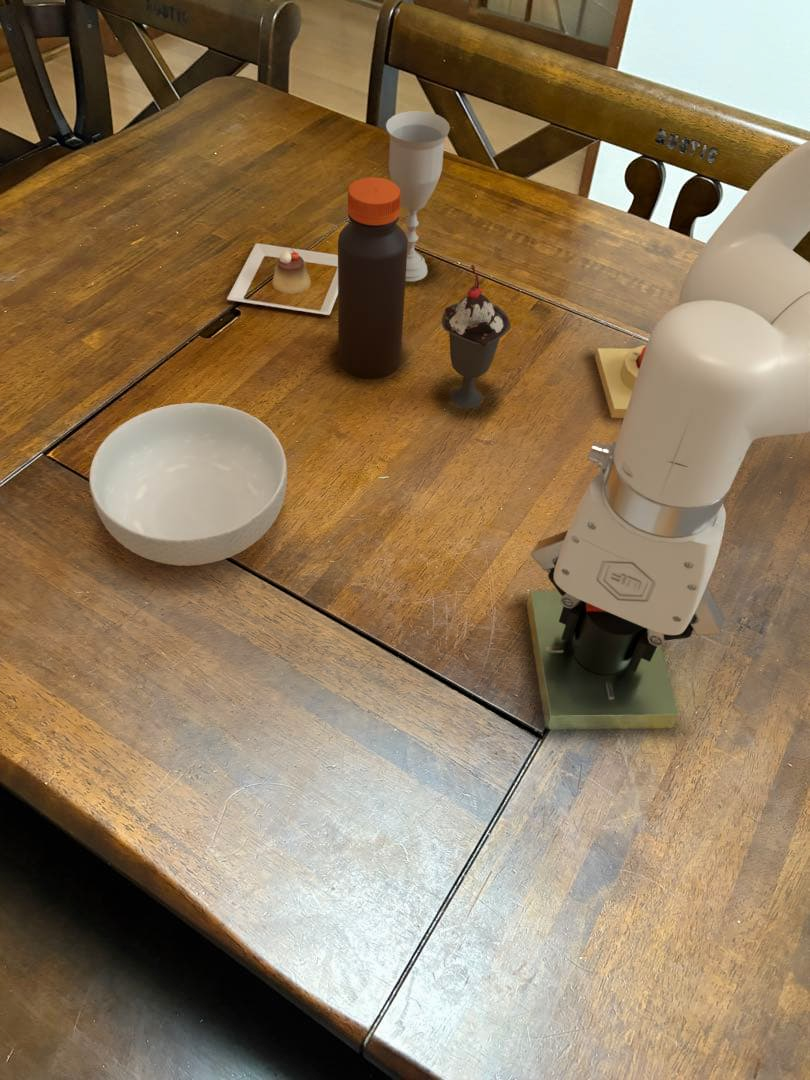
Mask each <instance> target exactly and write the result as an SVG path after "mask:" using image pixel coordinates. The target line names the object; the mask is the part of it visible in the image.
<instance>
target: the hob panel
mask: <svg viewBox="0 0 810 1080" xmlns="http://www.w3.org/2000/svg"><path fill="white" fill-rule="evenodd" d="M561 598H562V595H561V594H560V593H559V591H558V590H529V594H528V598H527V601H526V612H527V615H528V616H527V617H528V624H529V630H530V631H529V632H530V636H531V643H532V650H533V655H534V662H535V668H536V669H535V670H536V675H537V681H538V688H539V694H540V695H539V696H540V700H541V707H542V713H543V714H542V715H543V720H544V726H545V730H614V729H615V730H621V729H623V730H625V729H626V730H628V729H630V730H631V729H632V730H633V729H673V726H674V724H675V723H676V721H677V719H678V718H679V710H678V706H677V703H676V699H675V694H674V691H673V688H672V684H671V680H670V676H669V673H668V669H667V665H666V662H665V658H664V654H663V649H662V646H657V648H656V650H655V652H654V654H653V657H652V659H651V661H650V662H649V661H647V660H644V659H642V658H641V661H640V663H639V665H638V667H637V669H636V672H633V671H631V670H629V669H630V668H629V667H628V665H627V666H626V667H625V668H624V669H623V670H622V671H620V672H618V673H615V674H608V675H604V674H598V673H594V672H592V671H590V670H588V669H586V668H585V667H583V666H582V665H581V664H580V663H579V662H578V661H577V659H576V658H575V656H574V654H573V651H572V639H573V637H572V639H571V641H567V642H566V641H564V640H561V638H562V635H563V632H564V629H565V626H566V625H565V624H562V623H560V622H559V619H560V616H561V613H562V609H563V605H562V604H561V602H560V600H561ZM573 636H574V635H573Z"/></svg>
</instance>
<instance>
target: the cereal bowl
mask: <svg viewBox="0 0 810 1080" xmlns="http://www.w3.org/2000/svg"><path fill="white" fill-rule="evenodd" d="M88 481H89V489H90V494H91V498H92V502H93V504H94V508H95V510H96V513H97V515H98V517H99V518H100V521H101V523H102V524H103V525H104V527H105V529H106V531H108V532H109V534H110V535H111V536H112V537H113V538H114V539H115V540H116V541H117V542H118V543H119V544H121V545H122V546H123V547H124V548H125V549H127V550H129V551H130V552H131V553H133V554H136V555H137V556H139V557H141V558H145V559H146V560H150V561H153V562H155V563H161V564H164V565H165V564H167V565H173V566H179V567H180V566H181V567H182V566H186V567H188V566H190V567H191V566H200V565H205V564H212V563H215V562H220V561H223V560H225V559H229V558H231V557H234V556H235V555H238V554H240V553H242V552H243V551H246V550H247V549H248V548H250V547H251V546H253V545H254V544H255V543H256V542H258V541H259V540H261V538H262V537H263V536H264V535H266V533H267V532H268V531H269V530H270V528H272V526H273V525H274V522H276V520H277V519H278V516H279V515H280V513H281V510H282V508H283V506H284V501H285V499H286V498H285V497H286V493H287V485H288V466H287V458H286V455H285V451H284V449H283V446H282V444H281V442H280V440H279V438H278V437H277V435H275V433H274V431H272V430H271V428H270V427H268V426H267V425H266V424H265V423H264V422H262V421H261V420H260V419H258V418H257V417H255V416H254V415H251V414H250V413H248V412H245V411H243V410H242V409H241V410H240V409H237V408H235V407H230V406H227V405H223V404H218V403H217V404H216V403H207V402H185V403H175V404H170V405H164V406H160V407H157V408H153V409H150V410H146V411H145V412H142V413H140V414H138V415H135V416H134V417H131V418H130V419H128V420H126V421H125V422H123V423H122V424H121V425H119V426H117V427H116V428H115V429H114V430H113V431H112V432H110V433H109V434H108V435H107V437H106V438H105V439H104V440H102V442H101V443H100V445H99V446H98V448H97V450H96V452H95V454H94V456H93V458H92V461H91V465H90V469H89V479H88Z"/></svg>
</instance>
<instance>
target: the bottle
mask: <svg viewBox="0 0 810 1080" xmlns="http://www.w3.org/2000/svg"><path fill="white" fill-rule="evenodd" d="M400 199H401V191H400V188H399V187H398V186H397V185H396V184H395V183H394V182H392V180H389V179H387V178H383V177H375V176H372V177H371V176H370V177H363V178H360V179H356V180H354V181H353V182H351V184H349V186H348V187H347V213H348V214H347V217H348V219H349V221H350V222H349V223H347V224H346V225H345V226H344V227H343V228H342V230H340V232H339V234H338V239H337V255H338V267H337V268H338V295H337V316H338V317H337V319H338V321H337V325H338V326H337V328H338V329H337V331H338V333H337V335H338V336H337V337H338V338H337V339H338V342H337V344H338V345H337V346H338V348H337V349H338V350H337V351H338V352H337V353H338V362H339V365H340V367H341V368H342V369H343V370H344V371H345V373H347V374H350V375H351V376H352V377H355V378H359V379H364V380H376V379H377V380H378V379H383V378H385V377H388V376H391V375H392V374H393V373H395V372H397V370H398V369H399V367H400V365H401V360H402V343H403V329H404V328H403V327H404V312H405V311H404V309H405V293H406V281H405V279H406V263H407V246H408V239H407V237H406V233H405V231H404V230H403V229H402V228H401V227H400V226H399V225H398V224H397V223H398V221H399V219H400V214H401V213H400V212H401V203H400Z"/></svg>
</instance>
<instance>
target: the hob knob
mask: <svg viewBox="0 0 810 1080" xmlns="http://www.w3.org/2000/svg"><path fill="white" fill-rule="evenodd" d="M644 628H645V627H642V626H640V625H638V624H635V623H633V622H630V621H628V620H626V619H623V618H621V617H618V616H616V615H614V614H611V613H609V612H607V611H604V610H602V609H600V608H598V607H595V606H593V605H591V604H589V603H586V602H585V604H584V607H583V610H582V613H581V616H580V619H579V621H578V624H577V627H576V630H575V633H574V636H573V639H572V651H573V654H574V656H575V658H576V659H577V661H578V662H579V663H580V664H581V665H582V666H583V667H585V668H586V669H588V670H590V671H592V672H594V673H598V674H604V675H608V674H615V673H618V672H620V671H622V670H623V669H624V668H625V667H626V666H627V665H628V664H629V662H630V660H631V657H632V655H633V653H634V650H635V648H636V646H637V643H638V641H639V639H640V637H641V634H642V632H643V630H644Z"/></svg>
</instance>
